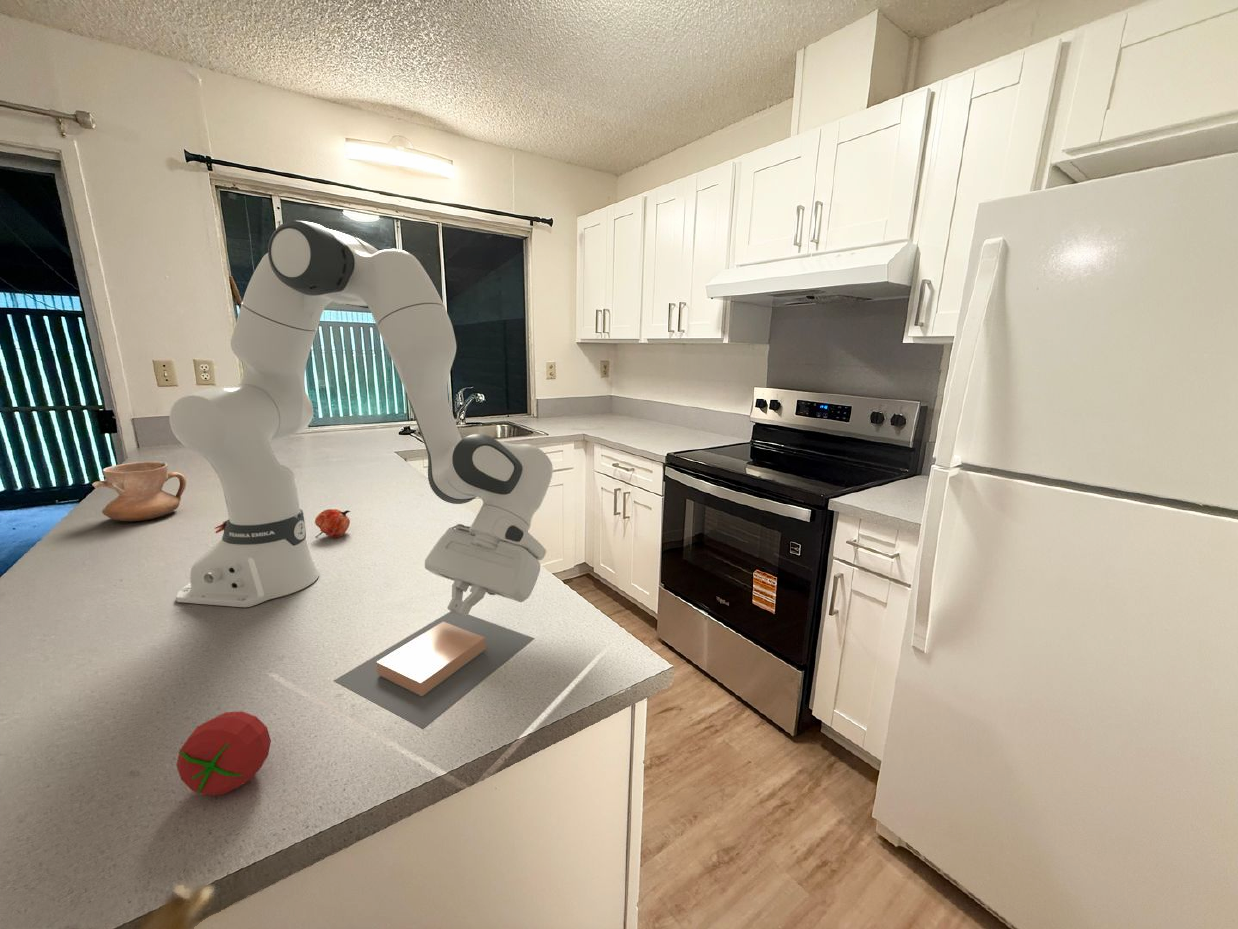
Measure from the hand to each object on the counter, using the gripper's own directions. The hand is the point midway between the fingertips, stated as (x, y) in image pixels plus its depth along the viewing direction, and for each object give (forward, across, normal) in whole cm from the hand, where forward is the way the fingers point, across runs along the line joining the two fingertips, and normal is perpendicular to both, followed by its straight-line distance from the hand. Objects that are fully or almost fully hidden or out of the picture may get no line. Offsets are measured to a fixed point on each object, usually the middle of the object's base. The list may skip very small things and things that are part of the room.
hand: (456, 613), depth 75 cm
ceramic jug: (+3, -118, +6) cm, 118 cm away
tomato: (+26, -3, -16) cm, 30 cm away
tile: (+2, 0, +4) cm, 5 cm away
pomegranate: (-8, -62, +18) cm, 65 cm away
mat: (+7, 0, +2) cm, 7 cm away
